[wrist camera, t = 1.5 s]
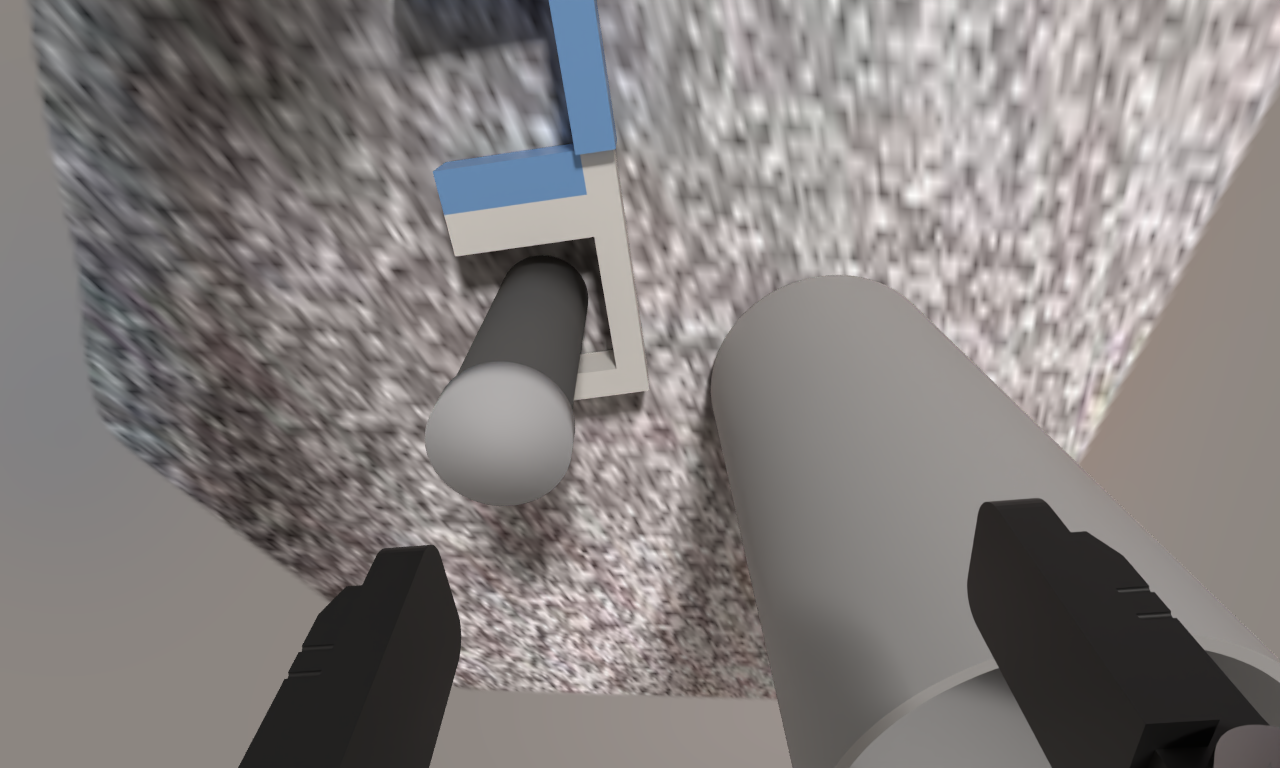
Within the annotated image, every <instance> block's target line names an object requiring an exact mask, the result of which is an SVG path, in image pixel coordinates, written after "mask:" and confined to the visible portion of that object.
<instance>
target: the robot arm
mask: <svg viewBox="0 0 1280 768" xmlns="http://www.w3.org/2000/svg"><path fill="white" fill-rule="evenodd" d="M967 594H968V601H969V606H970V610H971V613H972V616H973V619H974V621H975V623H976V626H977V628H978V629H979V631H980V633H981V635H982V637H983V639H984V641H985V643H986V645H987V646H988V648H989V650H990V652H991V654H992V656H993V658H994V660H995V662H996V663H997V665H998V667H999V669H1000V671H1001V673H1002V675H1003V677H1004V679H1005V680H1006V682H1007V684H1008V686H1009V688H1010V690H1011V692H1012V694H1013V696H1014V697H1015V699H1016V701H1017V703H1018V705H1019V707H1020V709H1021V711H1022V713H1023V714H1024V716H1025V718H1026V720H1027V722H1028V724H1029V726H1030V728H1031V730H1032V731H1033V733H1034V735H1035V737H1036V739H1037V741H1038V743H1039V745H1040V747H1041V748H1042V750H1043V752H1044V754H1045V756H1046V758H1047V760H1048V762H1049V764H1050V765H1051V767H1052V768H1280V728H1279V727H1274V726H1270V725H1269V724H1268V723H1267V722H1266V721H1265V720H1264V719H1263V718H1262V717H1261V715H1260V714H1259V713H1258V712H1257V711H1256V710H1255V708H1254V707H1253V706H1252V705H1251V704H1250V703H1249V701H1248V700H1247V699H1246V698H1245V697H1244V696H1243V694H1242V693H1241V692H1240V691H1239V690H1238V689H1237V687H1236V686H1235V685H1234V684H1233V683H1232V682H1231V680H1230V679H1229V678H1228V677H1227V676H1226V675H1225V673H1224V672H1223V671H1222V670H1221V669H1220V668H1219V666H1218V665H1217V664H1216V663H1215V662H1214V661H1213V659H1212V658H1211V657H1210V656H1209V655H1208V654H1207V652H1206V651H1205V650H1204V649H1203V648H1202V647H1201V645H1200V644H1199V643H1198V642H1197V641H1196V640H1195V638H1194V637H1193V636H1192V635H1191V634H1190V633H1189V631H1188V630H1187V629H1186V628H1185V627H1184V626H1183V624H1182V623H1181V622H1180V621H1179V620H1178V619H1177V618H1173V617H1172V615H1171V610H1170V609H1169V608H1168V607H1167V606H1166V605H1165V603H1164V602H1163V601H1162V600H1161V599H1160V598H1159V597H1158V595H1157V594H1156V593H1155V592H1151V591H1150V589H1149V585H1148V584H1147V583H1146V581H1145V580H1144V579H1143V578H1142V577H1141V576H1140V574H1139V573H1138V572H1137V571H1136V570H1135V569H1134V567H1133V566H1132V565H1131V564H1130V563H1129V562H1128V560H1127V559H1126V558H1125V557H1124V556H1123V555H1122V554H1120V553H1119V552H1117V551H1116V550H1114V549H1113V548H1111V547H1109V546H1108V545H1106V544H1105V543H1103V542H1102V541H1100V540H1099V539H1097V538H1096V537H1094V536H1093V535H1091V534H1090V533H1088V532H1087V531H1082V532H1070V531H1069V529H1068V528H1067V527H1066V526H1065V524H1064V523H1063V522H1062V521H1061V519H1060V518H1059V517H1058V516H1057V514H1056V513H1055V512H1054V511H1053V509H1052V508H1051V507H1050V506H1049V505H1048V503H1047V502H1045V501H1044V500H1043V499H1040V498H1029V499H1015V500H1002V501H989V502H984V503H983V504H982V505H981V506H980V508H979V511H978V516H977V522H976V528H975V535H974V541H973V547H972V553H971V559H970V565H969V572H968V578H967ZM460 649H461V626H460V620H459V615H458V612H457V609H456V606H455V602H454V599H453V596H452V592H451V589H450V586H449V583H448V579H447V576H446V573H445V569H444V566H443V563H442V560H441V556H440V554H439V551H438V549H437V548H436V547H435V546H434V545H423V546H410V547H396V548H385V549H382V550H381V551H380V552H379V553H378V554H377V556H376V558H375V560H374V562H373V564H372V566H371V568H370V570H369V572H368V574H367V577H366V579H365V581H364V583H363V585H361V586H347V587H345V588H344V589H343V590H342V591H341V592H340V593H339V594H338V595H337V596H336V597H335V598H334V599H333V600H332V601H331V602H330V603H329V604H328V605H327V606H326V608H325V609H324V610H323V611H322V612H321V613H320V614H319V615H318V616H317V618H316V620H315V622H314V624H313V626H312V628H311V630H310V632H309V634H308V636H307V637H306V639H305V641H304V643H303V645H302V652H299V653H298V655H297V657H296V659H295V660H294V662H293V664H292V666H291V668H290V670H289V672H288V673H289V676H288V679H284V681H283V683H282V686H281V687H280V689H279V691H278V693H277V695H276V697H275V699H274V701H273V702H272V704H271V706H270V708H269V710H268V712H267V714H266V716H265V718H264V720H263V721H262V723H261V725H260V727H259V729H258V731H257V733H256V735H255V737H254V739H253V741H252V742H251V744H250V746H249V748H248V750H247V752H246V754H245V756H244V758H243V760H242V762H241V763H240V765H239V767H238V768H429V766H430V762H431V759H432V755H433V751H434V748H435V744H436V740H437V737H438V733H439V730H440V726H441V722H442V719H443V715H444V712H445V708H446V704H447V701H448V697H449V694H450V690H451V686H452V683H453V679H454V676H455V672H456V668H457V665H458V661H459V656H460Z"/></svg>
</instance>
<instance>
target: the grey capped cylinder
mask: <svg viewBox="0 0 1280 768" xmlns="http://www.w3.org/2000/svg"><path fill="white" fill-rule="evenodd" d="M587 306H588V292H587V288H586V285H585V282H584V280H583V278H582V277H581V275H580V274H579V273H578V271H577V270H576V269H575V268H574V267H572V266H571V265H570V264H568V263H567V262H565V261H563V260H561V259H559V258H556V257H552V256H543V255H541V256H533V257H529V258H526V259H524V260H522V261H520V262H519V263H517V264H516V265H515V266H513V267H512V268H511V269H510V271H509V272H508V273H507V275H506V277H505V279H504V281H503V283H502V285H501V287H500V289H499V291H498V293H497V295H496V297H495V299H494V301H493V303H492V305H491V307H490V309H489V311H488V313H487V315H486V317H485V319H484V321H483V323H482V325H481V327H480V329H479V331H478V333H477V335H476V337H475V339H474V341H473V343H472V346H471V348H470V350H469V352H468V354H467V356H466V358H465V360H464V362H463V364H462V366H461V368H460V370H459V372H458V374H457V376H456V377H454V378H453V379H452V380H451V381H450V382H449V383H448V385H447V386H446V387H445V388H444V390H443V392H442V393H441V395H440V397H439V399H438V401H437V403H436V405H435V407H434V409H433V411H432V413H431V415H430V417H429V420H428V422H427V426H426V430H425V447H426V451H427V455H428V458H429V460H430V463H431V465H432V466H433V468H434V470H435V472H436V473H437V474H438V475H439V477H440V478H441V479H442V480H443V481H444V482H445V483H446V484H447V485H448V486H449V487H451V488H452V489H453V490H455V491H456V492H458V493H459V494H461V495H463V496H465V497H467V498H469V499H471V500H474V501H477V502H480V503H484V504H488V505H495V506H513V505H520V504H525V503H528V502H531V501H534V500H536V499H538V498H540V497H542V496H544V495H545V494H547V493H548V492H550V491H551V490H552V489H554V488H555V487H556V486H557V484H558V483H559V482H560V481H561V480H562V478H563V477H564V475H565V473H566V471H567V470H568V467H569V464H570V461H571V455H572V448H573V441H574V433H575V420H574V414H573V411H572V409H573V402H574V395H575V388H576V381H577V374H578V368H579V361H580V354H581V347H582V340H583V333H584V327H585V320H586V313H587Z"/></svg>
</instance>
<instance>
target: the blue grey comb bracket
mask: <svg viewBox="0 0 1280 768" xmlns="http://www.w3.org/2000/svg"><path fill="white" fill-rule="evenodd" d="M549 5H550V11H551V17H552V22H553V28H554V34H555V40H556V45H557V51H558V57H559V63H560V69H561V74H562V80H563V86H564V92H565V97H566V103H567V109H568V115H569V121H570V126H571V132H572V138H573V143H572V144H566V145H559V146H552V147H545V148H539V149H532V150H525V151H518V152H512V153H505V154H498V155H491V156H485V157H478V158H471V159H464V160H458V161H451V162H445V163H444V164H443V165H441V166H440V167H438V168H437V169H436V170H434V171H433V174H434V178H435V182H436V185H437V189H438V193H439V197H440V201H441V205H442V208H443V212H444V216H445V220H446V224H447V227H448V231H449V235H450V239H451V243H452V246H453V250H454V254H455V256H463V255H470V254H477V253H484V252H491V251H498V250H505V249H512V248H519V247H526V246H533V245H540V244H547V243H554V242H561V241H568V240H576V239H583V238H590V237H594V239H595V244H596V250H597V256H598V262H599V268H600V274H601V280H602V286H603V291H604V297H605V303H606V309H607V315H608V321H609V327H610V333H611V338H612V344H613V350H608V351H601V352H594V353H586V354H580V361H579V368H578V374H577V381H576V388H575V395H574V400H580V399H588V398H596V397H603V396H611V395H619V394H626V393H634V392H642V391H649V379H648V367H647V360H646V353H645V347H644V340H643V333H642V327H641V320H640V313H639V306H638V300H637V293H636V286H635V279H634V273H633V266H632V259H631V252H630V246H629V239H628V232H627V226H626V219H625V212H624V205H623V199H622V192H621V185H620V178H619V172H618V165H617V158H616V151H615V149H616V142H617V137H616V130H615V123H614V116H613V110H612V103H611V96H610V89H609V82H608V76H607V69H606V62H605V55H604V48H603V41H602V35H601V28H600V21H599V14H598V7H597V0H549Z"/></svg>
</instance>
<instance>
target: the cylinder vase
mask: <svg viewBox="0 0 1280 768" xmlns="http://www.w3.org/2000/svg"><path fill="white" fill-rule="evenodd" d="M711 401H712V407H713V412H714V416H715V421H716V425H717V430H718V434H719V439H720V443H721V448H722V452H723V457H724V461H725V466H726V470H727V475H728V479H729V484H730V488H731V493H732V497H733V502H734V506H735V511H736V515H737V520H738V524H739V529H740V533H741V538H742V542H743V547H744V551H745V556H746V560H747V564H748V569H749V573H750V578H751V582H752V587H753V591H754V596H755V600H756V605H757V609H758V614H759V618H760V623H761V627H762V632H763V636H764V641H765V645H766V650H767V654H768V659H769V663H770V668H771V672H772V677H773V681H774V686H775V690H776V695H777V699H778V704H779V708H780V713H781V717H782V722H783V726H784V731H785V735H786V739H787V744H788V748H789V753H790V758H791V762H792V767H793V768H1052V767H1051V765H1050V764H1049V762H1048V760H1047V758H1046V756H1045V754H1044V752H1043V750H1042V748H1041V747H1040V745H1039V743H1038V741H1037V739H1036V737H1035V735H1034V733H1033V731H1032V730H1031V728H1030V726H1029V724H1028V722H1027V720H1026V718H1025V716H1024V714H1023V713H1022V711H1021V709H1020V707H1019V705H1018V703H1017V701H1016V699H1015V697H1014V696H1013V694H1012V692H1011V690H1010V688H1009V686H1008V684H1007V682H1006V680H1005V679H1004V677H1003V675H1002V673H1001V671H1000V669H999V667H998V665H997V663H996V662H995V660H994V658H993V656H992V654H991V652H990V650H989V648H988V646H987V645H986V643H985V641H984V639H983V637H982V635H981V633H980V631H979V629H978V628H977V626H976V623H975V621H974V619H973V616H972V613H971V610H970V606H969V601H968V594H967V578H968V572H969V565H970V559H971V553H972V547H973V541H974V535H975V528H976V522H977V516H978V511H979V508H980V506H981V505H982V504H983V503H984V502H989V501H1002V500H1015V499H1029V498H1040V499H1043V500H1044V501H1045V502H1047V503H1048V505H1049V506H1050V507H1051V508H1052V509H1053V511H1054V512H1055V513H1056V514H1057V516H1058V517H1059V518H1060V519H1061V521H1062V522H1063V523H1064V524H1065V526H1066V527H1067V528H1068V529H1069V531H1070V532H1082V531H1087V532H1088V533H1090V534H1091V535H1093V536H1094V537H1096V538H1097V539H1099V540H1100V541H1102V542H1103V543H1105V544H1106V545H1108V546H1109V547H1111V548H1113V549H1114V550H1116V551H1117V552H1119V553H1120V554H1122V555H1123V556H1124V557H1125V558H1126V559H1127V560H1128V562H1129V563H1130V564H1131V565H1132V566H1133V567H1134V569H1135V570H1136V571H1137V572H1138V573H1139V574H1140V576H1141V577H1142V578H1143V579H1144V580H1145V581H1146V583H1147V584H1148V585H1149V589H1150V591H1151V592H1155V593H1156V594H1157V595H1158V597H1159V598H1160V599H1161V600H1162V601H1163V602H1164V603H1165V605H1166V606H1167V607H1168V608H1169V609H1170V610H1171V615H1172V617H1173V618H1177V619H1178V620H1179V621H1180V622H1181V623H1182V624H1183V626H1184V627H1185V628H1186V629H1187V630H1188V631H1189V633H1190V634H1191V635H1192V636H1193V637H1194V638H1195V640H1196V641H1197V642H1198V643H1199V644H1200V645H1201V647H1202V648H1203V649H1204V650H1205V651H1206V652H1207V654H1208V655H1209V656H1210V657H1211V658H1212V659H1213V661H1214V662H1215V663H1216V664H1217V665H1218V666H1219V668H1220V669H1221V670H1222V671H1223V672H1224V673H1225V675H1226V676H1227V677H1228V678H1229V679H1230V680H1231V682H1232V683H1233V684H1234V685H1235V686H1236V687H1237V689H1238V690H1239V691H1240V692H1241V693H1242V694H1243V696H1244V697H1245V698H1246V699H1247V700H1248V701H1249V703H1250V704H1251V705H1252V706H1253V707H1254V708H1255V710H1256V711H1257V712H1258V713H1259V714H1260V715H1261V717H1262V718H1263V719H1264V720H1265V721H1266V722H1267V723H1268V724H1269V725H1270V726H1274V727H1279V728H1280V659H1279V658H1278V657H1277V656H1276V655H1275V654H1274V653H1273V652H1272V651H1270V649H1269V648H1268V647H1267V646H1265V644H1263V643H1262V642H1261V641H1260V640H1259V639H1258V638H1257V637H1256V636H1255V635H1254V634H1253V633H1252V632H1251V631H1250V630H1249V629H1248V628H1247V627H1246V626H1245V625H1244V624H1243V623H1242V622H1241V621H1240V620H1239V619H1238V618H1237V617H1236V616H1234V614H1233V613H1231V612H1230V611H1229V610H1228V609H1227V608H1226V607H1225V606H1224V605H1223V604H1222V603H1221V602H1220V601H1219V600H1218V599H1217V598H1216V597H1215V596H1214V595H1213V594H1212V593H1211V592H1210V591H1209V590H1208V589H1207V588H1206V587H1205V586H1204V585H1203V584H1202V583H1201V582H1199V581H1198V580H1197V579H1196V578H1195V577H1194V576H1193V575H1192V574H1191V573H1190V572H1189V571H1188V570H1187V569H1186V568H1185V567H1184V566H1183V565H1182V564H1181V563H1180V562H1179V561H1178V560H1177V559H1176V558H1175V557H1174V556H1173V555H1172V554H1170V552H1168V551H1167V550H1166V549H1165V548H1164V547H1163V546H1162V545H1161V544H1160V543H1159V542H1158V541H1157V540H1156V539H1155V538H1154V537H1153V536H1152V535H1151V534H1150V533H1149V532H1148V531H1147V530H1146V529H1145V528H1144V527H1142V525H1141V524H1140V523H1139V522H1138V521H1137V520H1135V519H1134V518H1133V517H1132V516H1131V515H1130V514H1129V513H1128V512H1127V511H1126V510H1125V509H1124V508H1123V507H1122V506H1121V505H1120V504H1119V503H1118V502H1117V501H1116V500H1115V499H1114V498H1113V497H1112V496H1111V495H1109V493H1108V492H1106V491H1105V489H1103V488H1102V487H1101V486H1100V485H1099V484H1098V483H1097V482H1096V481H1095V480H1094V479H1093V478H1092V477H1091V476H1090V475H1089V474H1088V473H1087V472H1086V471H1085V470H1084V469H1083V468H1082V467H1081V466H1080V465H1079V464H1078V463H1077V462H1076V461H1075V460H1074V459H1073V458H1071V457H1070V456H1069V455H1068V454H1067V453H1066V452H1065V451H1064V450H1063V449H1062V448H1061V447H1060V446H1059V445H1058V444H1057V443H1056V442H1055V441H1054V440H1053V439H1052V438H1051V437H1050V436H1049V435H1048V434H1047V433H1046V432H1045V431H1044V430H1043V429H1042V428H1041V427H1039V426H1038V425H1037V424H1036V423H1035V422H1034V421H1033V420H1032V419H1031V418H1030V417H1029V416H1028V415H1027V414H1026V413H1025V412H1024V411H1023V410H1022V409H1021V408H1020V407H1019V406H1018V405H1017V404H1016V403H1015V402H1014V401H1013V400H1012V399H1011V398H1010V397H1009V396H1007V395H1006V394H1005V393H1004V392H1003V391H1002V390H1001V389H1000V388H999V387H998V386H997V385H996V384H995V383H994V382H993V381H992V380H991V379H990V378H989V377H988V376H987V375H986V374H985V373H984V372H983V371H982V370H981V369H980V368H979V367H978V366H977V365H975V364H974V363H973V362H972V361H971V360H970V359H969V358H968V357H967V356H966V355H965V354H964V353H963V352H962V351H961V350H960V349H959V348H958V347H957V346H956V345H955V344H954V343H953V342H952V341H951V340H950V339H949V338H948V337H947V336H946V335H945V334H943V333H942V332H941V331H940V330H939V329H938V328H937V327H936V326H935V325H934V324H933V323H932V322H931V321H930V320H929V319H928V318H927V317H926V316H925V315H924V314H923V313H922V312H921V311H920V310H919V309H918V308H917V307H916V306H915V305H914V304H912V303H911V302H910V301H909V300H908V299H907V298H906V297H904V296H903V295H901V294H900V293H899V292H897V291H895V290H894V289H892V288H890V287H888V286H886V285H884V284H881V283H879V282H876V281H873V280H870V279H866V278H861V277H856V276H847V275H827V276H818V277H813V278H808V279H804V280H800V281H797V282H794V283H791V284H789V285H786V286H784V287H782V288H780V289H778V290H776V291H774V292H772V293H770V294H769V295H767V296H766V297H764V298H763V299H761V300H760V301H758V302H757V303H756V304H754V305H753V306H752V307H751V308H750V309H749V310H747V311H746V312H745V313H744V314H743V315H742V316H741V318H740V319H739V320H738V321H737V322H736V323H735V325H734V326H733V327H732V328H731V330H730V331H729V333H728V334H727V336H726V338H725V339H724V341H723V343H722V345H721V347H720V349H719V352H718V354H717V357H716V360H715V363H714V367H713V372H712V378H711Z"/></svg>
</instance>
